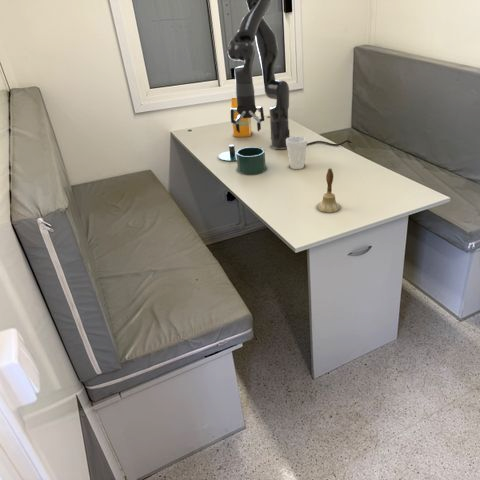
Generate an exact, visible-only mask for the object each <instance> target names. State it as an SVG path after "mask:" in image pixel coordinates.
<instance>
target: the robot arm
mask: <svg viewBox="0 0 480 480" xmlns="http://www.w3.org/2000/svg"><path fill="white" fill-rule="evenodd" d="M245 2H246V4H247V9H248V12H247V13H246V14H245V15H244V16H243V18H242V19H241V22H240V25H239V28H238V30H237V32H236V33H235V35H234V36H233V37H232V38H231V40H230V41H229V43H228V45H227V55H228V57H229V58H230V59H231V60H232V61H236V62H237V61H239V62H240V61H241V62H244V63H243V65H241V66H237V67H235V68H234V79H235V96H236V97H235V98H237V108H231V107H230V108H229V109H230V123H231V124H233V123H235V124H236V130H237V131H238V133H240V128H239V122H240V120H241V119H242V117H243V118H250V119H252V118H253V119H254V120H255V121H256V129H257V132H260V130H261V129H262V126H261V123H262V122H265V114H264V107H263V106H262V105H260V106H256V97H255V87H254V80H253V65H254V59H255V55H256V54H255V53H256V49H255V46H254V44H253V43H254V42H255V43H256V48H257V52H258V56H259V62H260V66H261V72H262V73H261V74H262V83H263V90H264V94H265V96H266V97H267V98H268V99H270V100H275V101H276V102H275V105H273V106H270V107H269V125H270V142H271V143H270V144H271V145H270V146H271V148H273V149H274V150H287V145H286V139H287V138H289V137H291V135H290V128H289V108H290V87H289V86H290V85H289V84H288V82H287V81H286V80H281V79H276V76H275V64H276V61H277V58H278V55H279V46H278V40H277V36H276V33H275V32H274V31H273V29H272V28H271V26H270V25H269V24H268V23H267V21H266V20H265V19H264V16H265V15H266V13H267V11H268V10H269V8H270V5H271V3H272V2H273V0H245ZM236 111H237V112H238V113H239V115H238V117H237V119H236V120H234V114H235V112H236ZM257 111H258V112H259V113H260V117H258V115H256V112H257ZM317 143H318V144H319V143H321V144H326V145H329V146H334V147H335V146H336V147H338V146H343V145H344V144H345V143H349V144H353V142H352V141H351V140H349V139H348V140H347V139H346V140H344V141H342V142H340V143H333V142H328V141H323V140H315V141H312V142H307V145H306V146H309V145H314V144H317Z"/></svg>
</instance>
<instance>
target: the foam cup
mask: <svg viewBox="0 0 480 480" xmlns="http://www.w3.org/2000/svg"><path fill="white" fill-rule="evenodd" d="M307 144H308V139H307V137H304V136H300V135H298V136H297V135H295V136H290V137H289V138H287V139H286V145H287V148H286V150H287V155H288V160H289V167H290V168H291V169H292V170H293V169H294V170H301V169H304V167H305V161H306V152H307V146H308V145H307Z"/></svg>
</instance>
